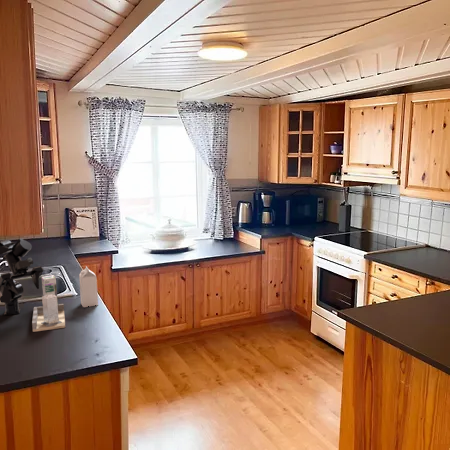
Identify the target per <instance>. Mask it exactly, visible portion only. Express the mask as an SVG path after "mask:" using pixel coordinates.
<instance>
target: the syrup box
mask: <svg viewBox="0 0 450 450" xmlns="http://www.w3.org/2000/svg"><path fill="white" fill-rule="evenodd" d="M56 279H57V278H56V276H55V275H53V274H52V275H47V276H46V275H45V276H41V286H42V296H46V295H50V294H53V295H55V296H57V297H58V291H57V280H56ZM57 304H59V303H58V300H57Z"/></svg>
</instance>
